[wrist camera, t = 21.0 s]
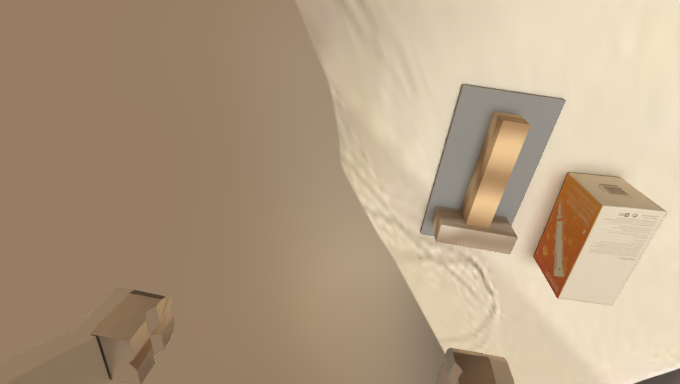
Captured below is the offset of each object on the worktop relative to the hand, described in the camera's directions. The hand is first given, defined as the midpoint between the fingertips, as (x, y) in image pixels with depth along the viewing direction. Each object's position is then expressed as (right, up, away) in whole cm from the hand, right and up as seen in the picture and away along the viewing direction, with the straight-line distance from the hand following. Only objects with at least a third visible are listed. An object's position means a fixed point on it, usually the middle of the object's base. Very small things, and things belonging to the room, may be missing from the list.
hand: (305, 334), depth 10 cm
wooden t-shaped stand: (+19, +6, +33) cm, 38 cm away
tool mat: (+19, +6, +33) cm, 38 cm away
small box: (+31, +5, +28) cm, 42 cm away
